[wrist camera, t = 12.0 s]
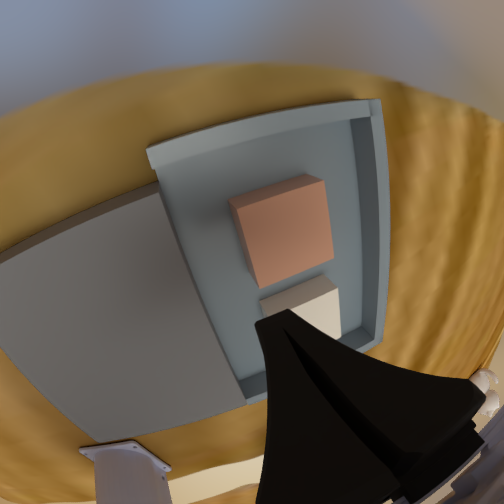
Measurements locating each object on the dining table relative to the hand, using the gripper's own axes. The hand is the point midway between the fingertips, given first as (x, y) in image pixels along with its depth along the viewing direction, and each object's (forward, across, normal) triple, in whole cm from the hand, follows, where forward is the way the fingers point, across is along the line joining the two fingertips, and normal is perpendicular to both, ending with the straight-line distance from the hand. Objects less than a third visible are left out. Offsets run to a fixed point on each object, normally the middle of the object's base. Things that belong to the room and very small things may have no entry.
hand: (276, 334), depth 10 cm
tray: (+8, -4, +3) cm, 10 cm away
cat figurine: (+8, -56, +66) cm, 87 cm away
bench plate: (+8, +9, +3) cm, 13 cm away
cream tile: (+6, -4, +7) cm, 10 cm away
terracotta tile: (+6, -3, 0) cm, 7 cm away
